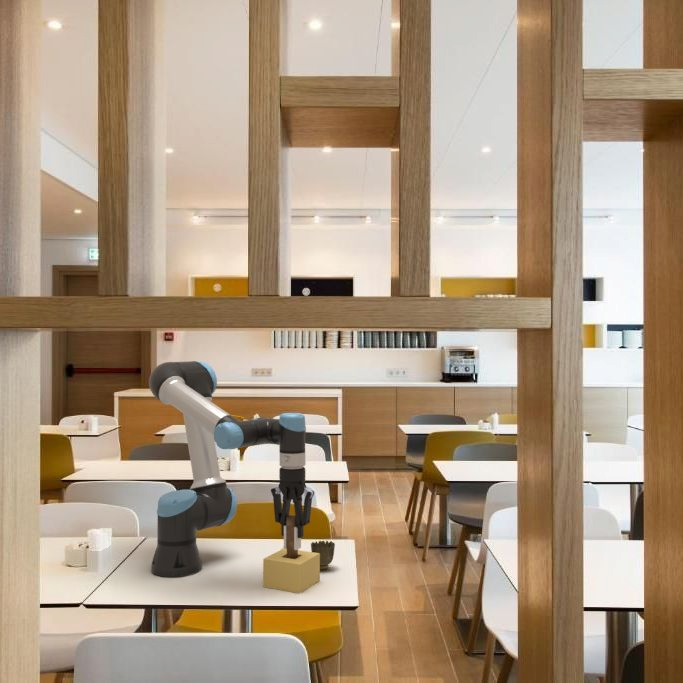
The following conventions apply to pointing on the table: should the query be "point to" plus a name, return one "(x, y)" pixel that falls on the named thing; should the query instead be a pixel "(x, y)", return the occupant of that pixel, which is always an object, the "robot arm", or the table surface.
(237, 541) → the table surface
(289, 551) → the walnut peg
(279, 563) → the hole block
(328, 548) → the cup
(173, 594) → the table surface
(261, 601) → the table surface
